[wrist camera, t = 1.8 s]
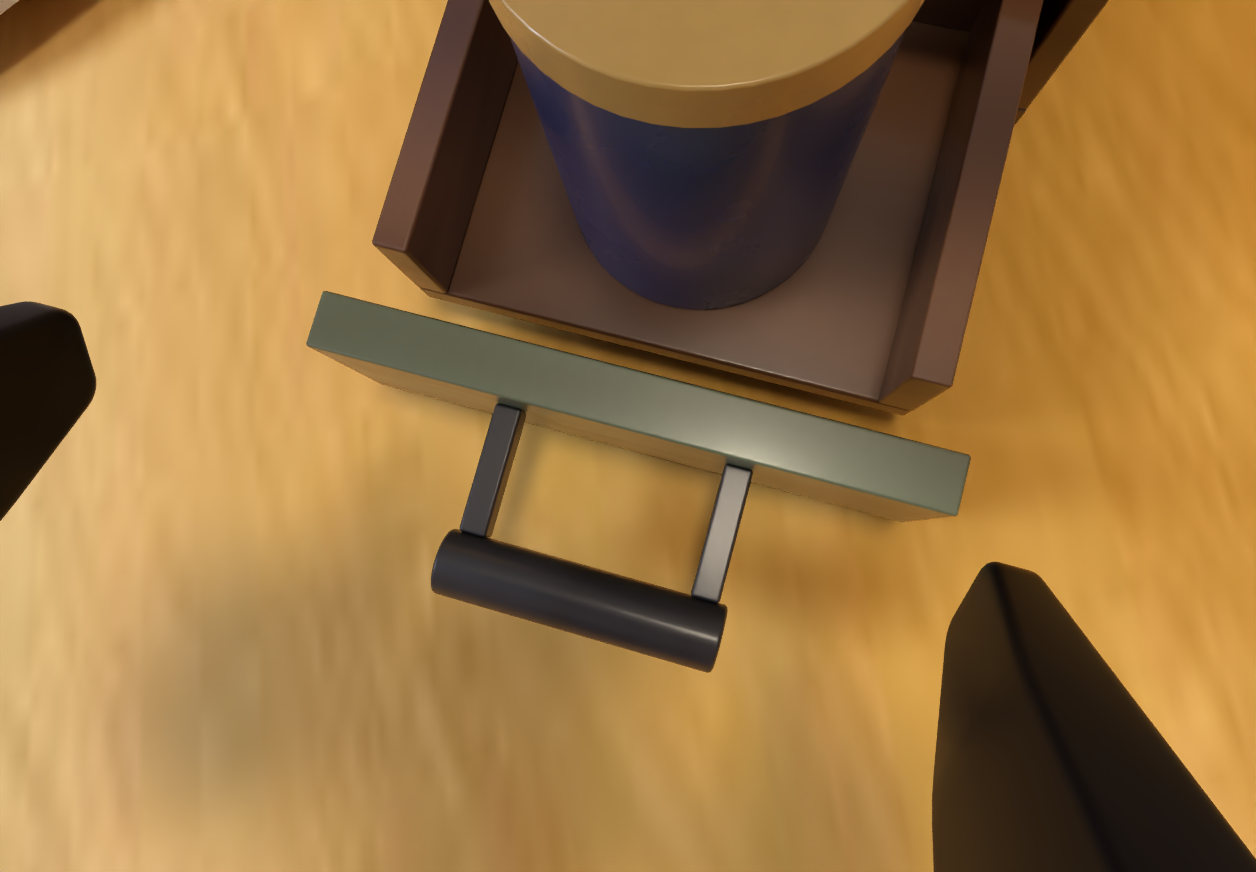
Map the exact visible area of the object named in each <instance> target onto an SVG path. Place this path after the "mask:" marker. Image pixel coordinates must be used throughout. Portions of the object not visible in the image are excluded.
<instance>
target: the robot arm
mask: <svg viewBox="0 0 1256 872" xmlns="http://www.w3.org/2000/svg"><path fill="white" fill-rule="evenodd" d="M95 390H96V377H95V373H94V370H93V366H92V363H91V360H90V357H89V354H88V350H87V347H86V344H85V341H84V337H83V334H82V331H81V328H80V325H79V323H78V321H77V320H76V318H75V317H74V316H73V315H72V314H71V313H69V312H67V311H65V310H63V309H59V308H56V307H52V306H48V305H44V304H41V303H36V302H19V303H15V304H10V305H5V306H0V521H1V520H2V518H3V517H4V516H5V515H6V514H7V512H8V511H9V510H10V508H11V507H12V506H13V505H14V503H15V502H16V501H17V500H18V498H19V497H20V496H21V494H22V493H23V492H24V490H25V489H26V488H27V486H28V485H29V484H30V482H31V481H32V480H33V479H34V477H35V476H36V475H37V473H38V472H39V471H40V469H41V468H42V467H43V465H44V464H45V463H46V461H47V460H48V459H49V457H50V456H51V455H52V453H53V452H54V451H55V449H56V448H57V447H58V445H59V444H60V443H61V441H62V440H63V439H64V437H65V436H66V435H67V433H68V432H69V431H70V429H71V428H72V427H73V426H74V424H75V423H76V422H77V420H78V419H79V418H80V416H81V415H82V414H83V412H84V411H85V410H86V408H87V407H88V406H89V404H90V403H91V401H92V399H93V397H94V394H95ZM932 833H933V863H934V872H1256V859H1255V857H1254V856H1253V855H1252V853H1251V852H1250V851H1249V849H1248V848H1247V847H1246V846H1245V844H1244V843H1243V842H1242V840H1241V839H1240V838H1239V836H1238V835H1237V834H1236V832H1235V831H1234V830H1233V828H1232V827H1231V826H1230V825H1229V823H1228V822H1227V821H1226V819H1225V818H1224V817H1223V815H1222V814H1221V813H1220V811H1219V810H1218V809H1217V807H1216V806H1215V805H1214V804H1213V802H1212V801H1211V800H1210V798H1209V797H1208V796H1207V794H1206V793H1205V792H1204V790H1203V789H1202V788H1201V787H1200V785H1199V784H1198V783H1197V781H1196V780H1195V779H1194V777H1193V776H1192V775H1191V773H1190V772H1189V771H1188V769H1187V768H1186V767H1185V766H1184V764H1183V763H1182V762H1181V760H1180V759H1179V758H1178V756H1177V755H1176V754H1175V752H1174V751H1173V750H1172V748H1171V747H1170V746H1169V745H1168V743H1167V742H1166V741H1165V739H1164V738H1163V737H1162V735H1161V734H1160V733H1159V731H1158V730H1157V729H1156V727H1155V726H1154V725H1153V724H1152V722H1151V721H1150V720H1149V718H1148V717H1147V716H1146V714H1145V713H1144V712H1143V710H1142V709H1141V708H1140V706H1139V705H1138V704H1137V703H1136V701H1135V700H1134V699H1133V697H1132V696H1131V695H1130V693H1129V692H1128V691H1127V689H1126V688H1125V687H1124V686H1123V684H1122V683H1121V682H1120V680H1119V679H1118V678H1117V676H1116V675H1115V674H1114V672H1113V671H1112V670H1111V668H1110V667H1109V666H1108V665H1107V663H1106V662H1105V661H1104V659H1103V658H1102V657H1101V655H1100V654H1099V653H1098V651H1097V650H1096V649H1095V647H1094V646H1093V645H1092V644H1091V642H1090V641H1089V640H1088V638H1087V637H1086V636H1085V634H1084V633H1083V632H1082V630H1081V629H1080V628H1079V626H1078V625H1077V624H1076V623H1075V621H1074V620H1073V619H1072V617H1071V616H1070V615H1069V613H1068V612H1067V611H1066V609H1065V608H1064V607H1063V605H1062V604H1061V603H1060V602H1059V600H1058V599H1057V598H1056V596H1055V595H1054V594H1053V592H1052V591H1051V590H1050V588H1049V587H1048V586H1047V585H1046V583H1045V582H1044V581H1043V580H1042V578H1041V577H1040V576H1039V575H1037V574H1036V573H1034V572H1032V571H1029V570H1025V569H1022V568H1018V567H1014V566H1011V565H1007V564H1003V563H1000V562H991V563H987V564H986V565H985V566H984V567H983V568H982V569H981V570H980V572H979V573H978V575H977V577H976V579H975V580H974V582H973V584H972V585H971V587H970V589H969V591H968V592H967V594H966V596H965V598H964V599H963V601H962V603H961V604H960V606H959V608H958V610H957V611H956V613H955V615H954V616H953V618H952V620H951V623H950V625H949V629H948V632H947V636H946V642H945V651H944V663H943V674H942V685H941V697H940V708H939V719H938V731H937V742H936V753H935V765H934V777H933V793H932Z"/></svg>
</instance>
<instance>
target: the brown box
mask: <svg viewBox="0 0 1256 872" xmlns="http://www.w3.org/2000/svg"><path fill="white" fill-rule="evenodd" d="M1108 1H1109V0H1043V5H1042V9H1041V13H1040V17H1039V21H1038V26H1037V30H1036V34H1035V38H1034V43H1033V47H1032V51H1031V55H1030V59H1029V64H1028V68H1027V72H1026V76H1025V80H1024V85H1023V89H1022V93H1021V97H1020V102H1019V106H1018V110H1017V114H1016V118H1015V123H1014V124H1016V123H1017V122H1018V120H1019V119H1020V118H1021V116H1022V115H1023V114H1024V113H1025V111H1026V109H1027V108H1028V106H1029V105H1030V104H1031V102H1032V101H1033V100H1034V98H1035V97H1036V96H1037V94H1038V93H1039V92H1040V90H1041V89H1042V88H1043V87H1044V85H1045V84H1046V83H1047V81H1048V80H1049V79H1050V77H1051V76H1052V75H1053V73H1054V72H1055V71H1056V69H1057V68H1058V67H1059V65H1060V64H1061V63H1062V61H1063V60H1064V59H1065V57H1066V56H1067V55H1068V53H1069V52H1070V51H1071V50H1072V48H1073V47H1074V46H1075V44H1076V43H1077V42H1078V40H1079V39H1080V38H1081V36H1082V35H1083V34H1084V32H1085V31H1086V30H1087V28H1088V27H1089V26H1090V24H1091V23H1092V22H1093V20H1094V19H1095V18H1096V17H1097V15H1098V14H1099V13H1100V11H1101V10H1102V9H1103V7H1104V6H1105V5H1106V3H1107V2H1108Z"/></svg>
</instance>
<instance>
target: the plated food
mask: <svg viewBox="0 0 1256 872" xmlns="http://www.w3.org/2000/svg"><path fill="white" fill-rule="evenodd" d="M18 1H19V0H0V15H1V14H2V13H3V12H5V11H6V10H7V9H8V8H10V7H11V6H12V5H14V4H15V3H16V2H18Z"/></svg>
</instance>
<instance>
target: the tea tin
mask: <svg viewBox="0 0 1256 872" xmlns="http://www.w3.org/2000/svg"><path fill="white" fill-rule="evenodd" d="M924 1H925V0H489V2H490V4H491V6H492V8H493V10H494V12H495V13H496V15H497V17H498V19H499V21H500V22H501V24H502V26H503V28H504V29H505V30H506V32H507V33H508V34H509V36H510V39H511V42H512V45H513V47H514V50H515V53H516V56H517V58H518V61H519V64H520V67H521V69H522V72H523V75H524V77H525V80H526V83H527V86H528V88H529V91H530V94H531V97H532V99H533V102H534V105H535V108H536V110H537V113H538V116H539V119H540V121H541V124H542V127H543V130H544V132H545V135H546V138H547V140H548V143H549V146H550V149H551V151H552V154H553V157H554V160H555V162H556V165H557V168H558V171H559V173H560V176H561V179H562V182H563V184H564V187H565V190H566V192H567V195H568V198H569V201H570V203H571V206H572V209H573V212H574V214H575V217H576V220H577V223H578V225H579V228H580V230H581V233H582V236H583V238H584V240H585V242H586V243H587V245H588V247H589V249H590V251H591V252H592V254H593V255H594V256H595V258H596V259H597V260H598V262H599V263H600V264H601V266H602V267H603V268H604V269H605V270H606V271H607V272H608V273H609V274H610V275H611V276H612V277H613V278H615V279H616V280H617V281H619V282H620V283H621V284H622V285H624V286H625V287H627V288H628V289H630V290H632V291H633V292H635V293H637V294H638V295H640V296H643V297H645V298H647V299H650V300H652V301H654V302H657V303H661V304H664V305H668V306H672V307H678V308H685V309H716V308H725V307H729V306H733V305H737V304H741V303H744V302H746V301H749V300H752V299H754V298H757V297H759V296H761V295H763V294H765V293H767V292H768V291H770V290H772V289H774V288H775V287H777V286H778V285H779V284H781V283H782V282H784V281H785V280H786V279H788V278H789V277H790V276H791V275H792V274H793V273H794V272H795V271H796V270H797V269H799V268H800V267H801V265H802V264H803V263H804V262H805V261H806V259H807V258H808V257H809V256H810V254H811V253H812V252H813V250H814V248H815V247H816V245H817V244H818V242H819V240H820V239H821V236H822V234H823V232H824V230H825V227H826V225H827V223H828V220H829V218H830V216H831V213H832V211H833V208H834V206H835V203H836V201H837V198H838V196H839V194H840V191H841V189H842V186H843V184H844V181H845V179H846V176H847V174H848V171H849V169H850V167H851V164H852V162H853V159H854V157H855V154H856V152H857V149H858V147H859V145H860V142H861V140H862V137H863V135H864V132H865V130H866V127H867V125H868V123H869V120H870V118H871V115H872V113H873V110H874V108H875V105H876V103H877V100H878V98H879V96H880V93H881V91H882V88H883V86H884V83H885V81H886V78H887V76H888V74H889V71H890V69H891V66H892V64H893V61H894V59H895V56H896V54H897V52H898V49H899V47H900V44H901V42H902V39H903V37H904V34H905V32H906V29H907V27H908V26H909V25H910V23H911V22H912V20H913V19H914V17H915V15H916V14H917V12H918V11H919V9H920V7H921V6H922V4H923V3H924Z"/></svg>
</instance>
